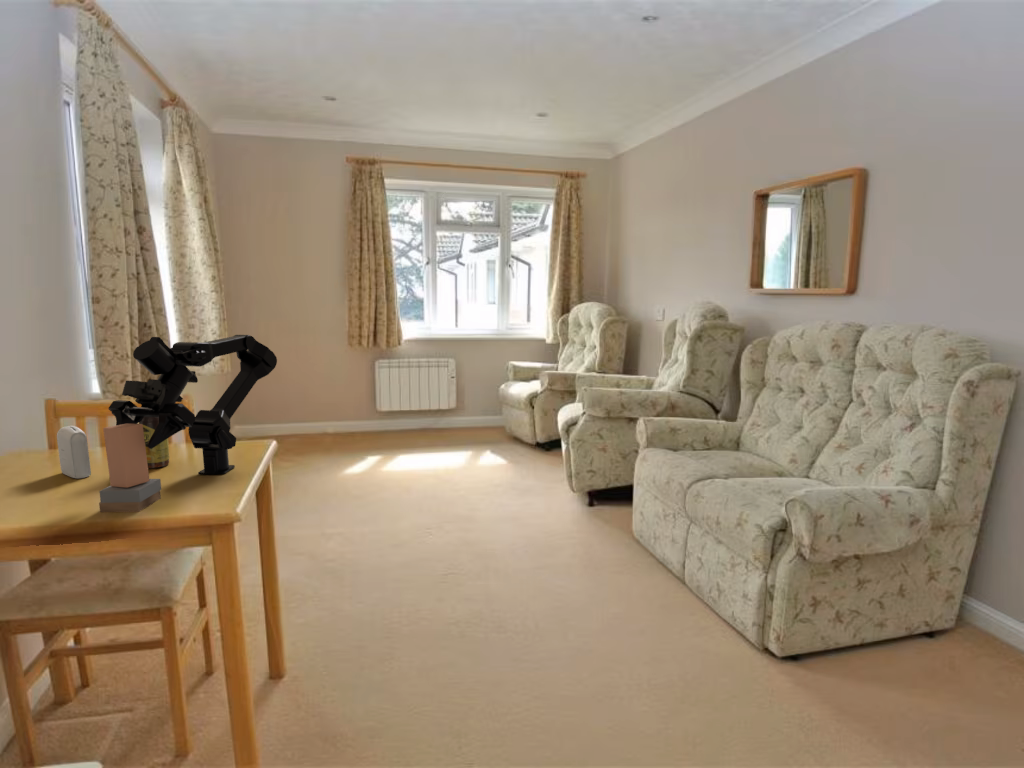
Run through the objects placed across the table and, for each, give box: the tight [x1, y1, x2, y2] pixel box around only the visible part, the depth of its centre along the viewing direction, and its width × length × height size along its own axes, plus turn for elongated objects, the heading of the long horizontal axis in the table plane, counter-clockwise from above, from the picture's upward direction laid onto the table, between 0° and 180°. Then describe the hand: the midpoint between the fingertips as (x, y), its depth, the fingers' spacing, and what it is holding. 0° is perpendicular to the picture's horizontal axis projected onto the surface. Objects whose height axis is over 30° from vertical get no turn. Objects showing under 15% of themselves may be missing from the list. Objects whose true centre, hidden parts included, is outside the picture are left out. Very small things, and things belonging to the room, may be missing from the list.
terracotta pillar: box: [102, 423, 150, 488], centre depth 126 cm, size 5×5×12 cm
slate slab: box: [99, 478, 162, 503], centre depth 127 cm, size 8×8×2 cm
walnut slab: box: [98, 490, 162, 513], centre depth 127 cm, size 8×8×2 cm
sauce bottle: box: [138, 417, 170, 469], centre depth 154 cm, size 7×6×20 cm
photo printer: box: [56, 425, 92, 480], centre depth 148 cm, size 10×4×12 cm, turn 53°
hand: (131, 446), depth 127 cm, fingers open, 9 cm apart
